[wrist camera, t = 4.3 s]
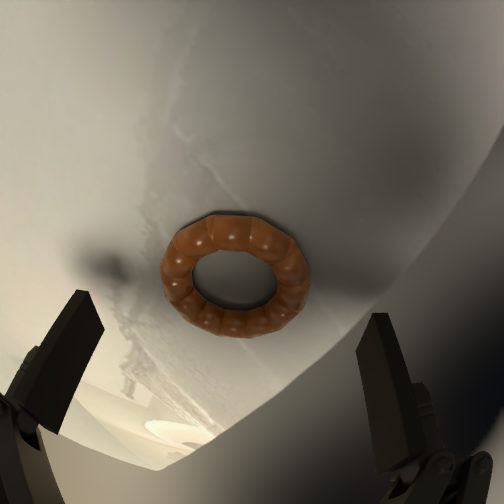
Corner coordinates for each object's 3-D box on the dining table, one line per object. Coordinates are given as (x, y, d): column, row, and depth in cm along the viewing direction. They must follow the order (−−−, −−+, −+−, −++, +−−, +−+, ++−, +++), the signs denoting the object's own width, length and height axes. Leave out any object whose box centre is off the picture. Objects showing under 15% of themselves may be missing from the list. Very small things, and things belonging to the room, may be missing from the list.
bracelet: (337, 259, 14) (342, 279, 13) (257, 338, 18) (256, 358, 17) (204, 180, 12) (196, 193, 11) (149, 286, 16) (140, 304, 15)
